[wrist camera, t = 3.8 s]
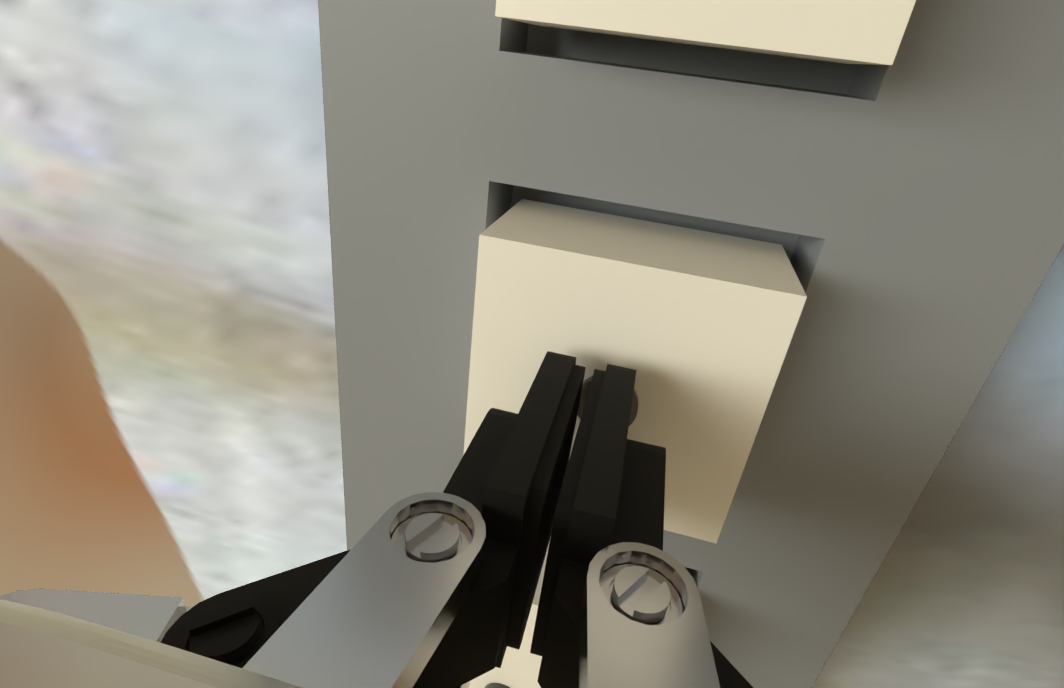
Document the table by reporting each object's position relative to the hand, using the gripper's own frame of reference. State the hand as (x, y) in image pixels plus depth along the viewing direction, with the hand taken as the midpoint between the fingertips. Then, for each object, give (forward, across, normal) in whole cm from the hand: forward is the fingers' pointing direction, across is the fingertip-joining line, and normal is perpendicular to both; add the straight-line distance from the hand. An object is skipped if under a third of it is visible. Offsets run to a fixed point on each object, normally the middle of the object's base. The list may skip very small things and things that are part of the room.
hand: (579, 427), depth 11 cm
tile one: (+3, 0, 0) cm, 4 cm away
